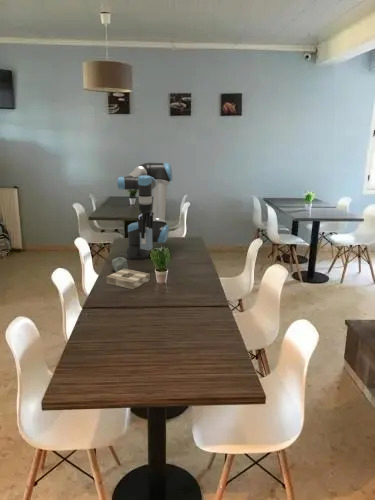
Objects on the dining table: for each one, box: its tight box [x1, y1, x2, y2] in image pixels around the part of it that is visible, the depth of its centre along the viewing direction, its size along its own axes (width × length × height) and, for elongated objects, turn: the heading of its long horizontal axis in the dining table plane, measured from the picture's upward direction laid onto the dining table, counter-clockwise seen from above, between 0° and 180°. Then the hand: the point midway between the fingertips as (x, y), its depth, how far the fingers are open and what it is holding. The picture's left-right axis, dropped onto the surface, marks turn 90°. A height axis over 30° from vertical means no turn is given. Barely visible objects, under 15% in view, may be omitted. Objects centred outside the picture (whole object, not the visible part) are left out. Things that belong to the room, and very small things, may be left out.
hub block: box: [106, 268, 151, 290], centre depth 234 cm, size 16×18×4 cm
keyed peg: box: [140, 227, 154, 251], centre depth 244 cm, size 4×6×13 cm, turn 61°
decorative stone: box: [111, 256, 129, 273], centre depth 252 cm, size 13×11×10 cm
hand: (146, 242), depth 245 cm, fingers closed on keyed peg, 4 cm apart
